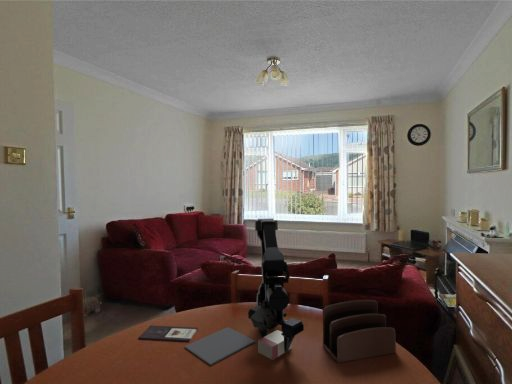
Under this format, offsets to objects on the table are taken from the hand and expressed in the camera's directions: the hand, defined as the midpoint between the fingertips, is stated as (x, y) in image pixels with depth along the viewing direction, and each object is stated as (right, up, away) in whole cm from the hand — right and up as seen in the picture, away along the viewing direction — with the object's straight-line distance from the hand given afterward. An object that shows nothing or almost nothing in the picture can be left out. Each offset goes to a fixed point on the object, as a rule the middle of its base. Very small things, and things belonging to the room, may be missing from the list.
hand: (274, 346), depth 97 cm
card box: (0, -1, 0) cm, 1 cm away
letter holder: (+26, -1, 0) cm, 26 cm away
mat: (-18, -1, +4) cm, 18 cm away
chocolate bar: (-37, -2, +12) cm, 39 cm away
